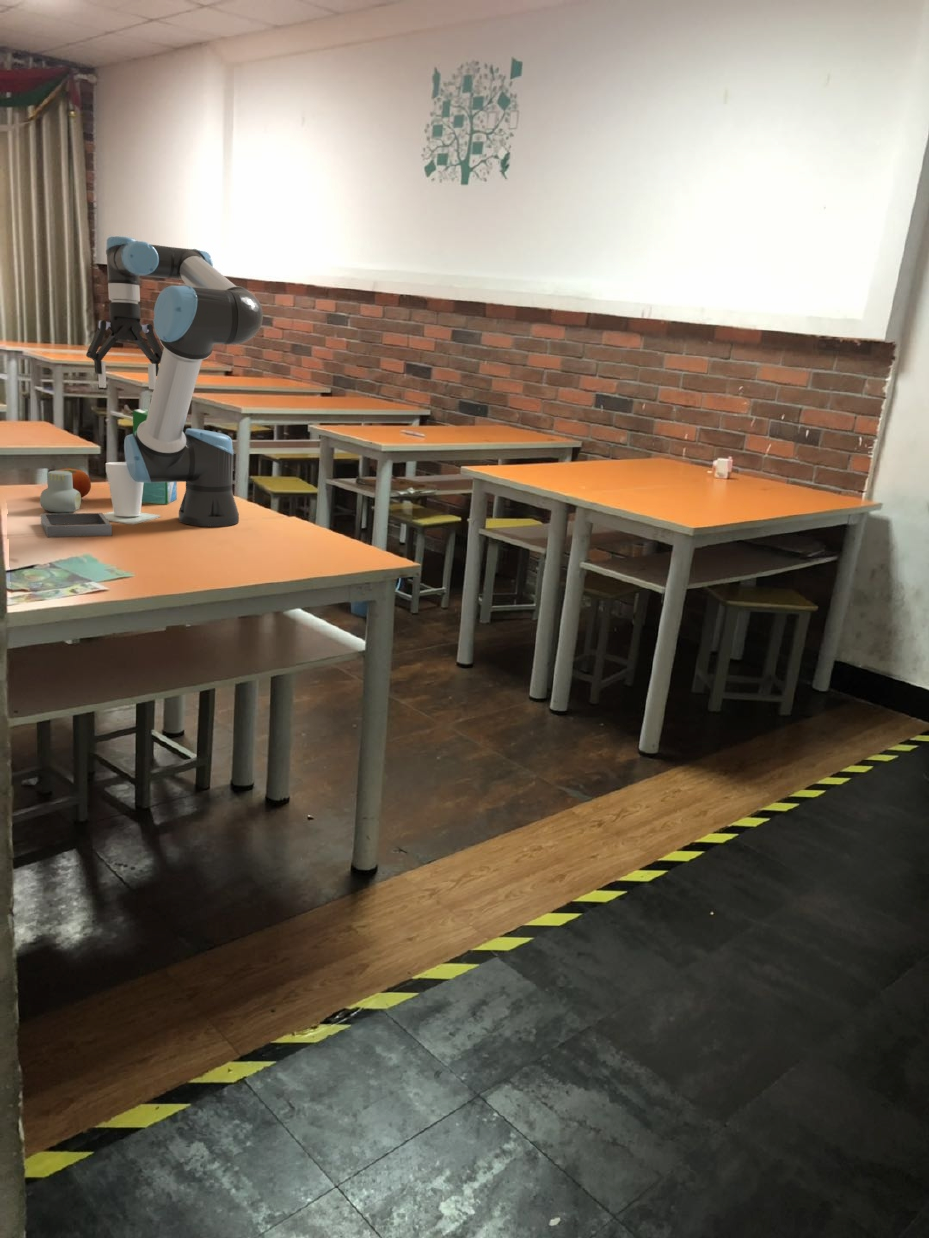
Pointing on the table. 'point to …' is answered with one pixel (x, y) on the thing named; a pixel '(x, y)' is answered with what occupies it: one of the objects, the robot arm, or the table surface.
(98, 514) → the grey square frame
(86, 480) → the fruit
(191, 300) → the robot arm
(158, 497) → the milk carton
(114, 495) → the foam cup
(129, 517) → the pad
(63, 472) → the air freshener
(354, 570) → the table surface
